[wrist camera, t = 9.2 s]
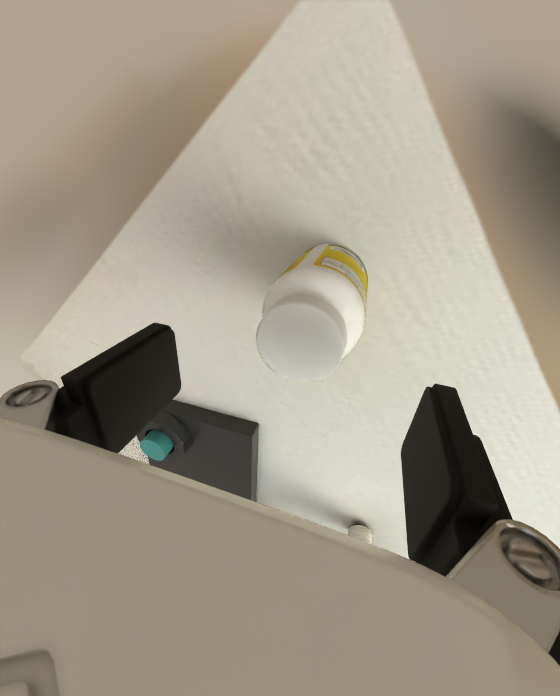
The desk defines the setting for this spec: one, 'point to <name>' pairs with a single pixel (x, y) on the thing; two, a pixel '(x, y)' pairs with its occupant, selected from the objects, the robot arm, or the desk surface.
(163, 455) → the button
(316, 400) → the desk surface
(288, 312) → the supplement bottle
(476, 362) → the desk surface
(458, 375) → the desk surface
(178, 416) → the dark grey button base
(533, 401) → the desk surface
